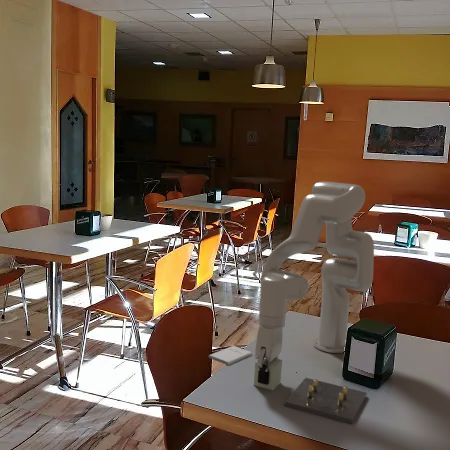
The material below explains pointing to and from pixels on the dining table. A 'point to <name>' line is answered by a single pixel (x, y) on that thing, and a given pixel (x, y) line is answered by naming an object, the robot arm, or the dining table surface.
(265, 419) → the dining table surface
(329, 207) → the robot arm
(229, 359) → the external hard drive
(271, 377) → the beige block
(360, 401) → the plate
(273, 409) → the dining table surface
